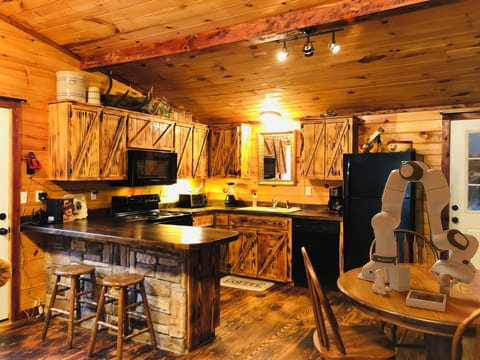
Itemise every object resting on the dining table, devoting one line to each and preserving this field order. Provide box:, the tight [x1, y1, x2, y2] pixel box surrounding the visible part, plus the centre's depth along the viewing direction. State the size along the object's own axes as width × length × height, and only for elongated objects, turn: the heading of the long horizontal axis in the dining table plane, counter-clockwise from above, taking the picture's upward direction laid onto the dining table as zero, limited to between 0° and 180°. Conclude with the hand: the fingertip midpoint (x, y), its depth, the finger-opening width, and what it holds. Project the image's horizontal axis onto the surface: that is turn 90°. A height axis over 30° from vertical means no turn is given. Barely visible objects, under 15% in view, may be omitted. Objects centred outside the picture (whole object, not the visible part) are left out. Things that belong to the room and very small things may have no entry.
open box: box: [405, 289, 447, 312], centre depth 180 cm, size 16×16×4 cm
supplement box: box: [389, 264, 411, 293], centre depth 202 cm, size 7×7×13 cm
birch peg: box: [439, 273, 451, 300], centre depth 189 cm, size 4×4×12 cm
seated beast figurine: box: [371, 269, 392, 295], centre depth 198 cm, size 10×9×12 cm
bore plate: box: [411, 292, 443, 303], centre depth 180 cm, size 13×13×2 cm
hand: (444, 285), depth 189 cm, fingers closed on birch peg, 4 cm apart
